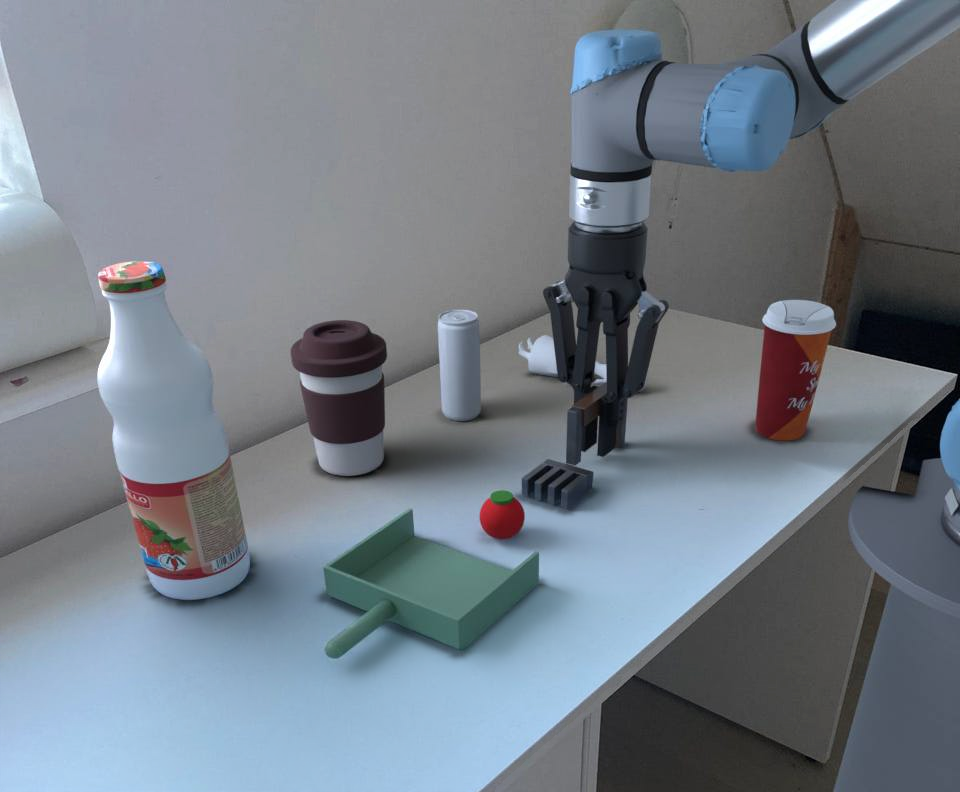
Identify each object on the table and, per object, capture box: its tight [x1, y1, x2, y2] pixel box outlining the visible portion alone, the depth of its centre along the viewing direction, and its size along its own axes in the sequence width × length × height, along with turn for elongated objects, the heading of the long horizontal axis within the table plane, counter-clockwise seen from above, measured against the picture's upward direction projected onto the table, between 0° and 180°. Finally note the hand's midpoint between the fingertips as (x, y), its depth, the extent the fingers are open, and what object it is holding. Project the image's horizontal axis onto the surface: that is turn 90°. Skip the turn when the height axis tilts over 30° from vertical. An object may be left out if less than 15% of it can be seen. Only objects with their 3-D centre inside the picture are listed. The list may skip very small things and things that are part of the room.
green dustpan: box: [322, 507, 540, 660], centre depth 85 cm, size 20×15×3 cm
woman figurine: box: [517, 334, 648, 392], centre depth 126 cm, size 12×4×18 cm
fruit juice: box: [96, 260, 251, 601], centre depth 84 cm, size 9×9×28 cm
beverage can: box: [437, 309, 482, 422], centre depth 115 cm, size 5×5×12 cm
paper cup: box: [755, 299, 837, 442], centre depth 109 cm, size 8×8×14 cm
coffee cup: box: [290, 319, 388, 477], centre depth 105 cm, size 10×10×15 cm
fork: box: [521, 382, 629, 509], centre depth 104 cm, size 16×6×8 cm, turn 145°
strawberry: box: [478, 489, 526, 540], centre depth 95 cm, size 4×4×4 cm
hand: (596, 448), depth 107 cm, fingers closed on fork, 2 cm apart
